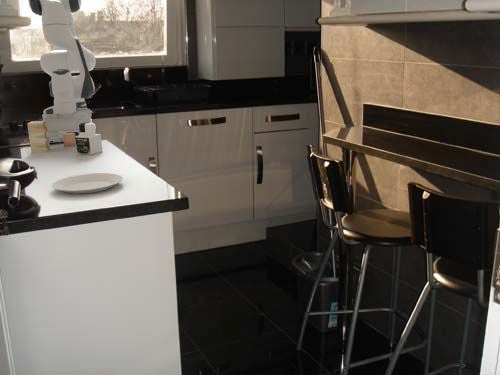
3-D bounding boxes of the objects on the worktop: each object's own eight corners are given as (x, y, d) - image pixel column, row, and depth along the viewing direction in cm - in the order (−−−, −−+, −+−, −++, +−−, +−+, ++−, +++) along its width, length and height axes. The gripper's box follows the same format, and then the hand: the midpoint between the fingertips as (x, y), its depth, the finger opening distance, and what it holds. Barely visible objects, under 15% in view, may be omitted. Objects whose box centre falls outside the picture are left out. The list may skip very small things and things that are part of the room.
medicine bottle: (76, 154, 232) (73, 124, 229) (89, 150, 238) (86, 121, 235) (90, 155, 229) (87, 124, 226) (103, 151, 235) (99, 121, 232)
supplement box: (68, 139, 268) (64, 111, 265) (61, 142, 261) (57, 113, 258) (52, 139, 269) (48, 112, 266) (45, 142, 262) (41, 114, 259)
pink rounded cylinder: (65, 144, 254) (64, 133, 253) (77, 144, 255) (76, 132, 253) (63, 146, 250) (61, 135, 248) (75, 146, 250) (73, 134, 249)
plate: (67, 202, 165) (66, 194, 165) (43, 188, 182) (42, 181, 181) (134, 188, 177) (134, 181, 176) (107, 176, 193) (106, 169, 193)
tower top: (32, 131, 243) (31, 121, 242) (47, 130, 244) (46, 120, 243) (28, 133, 238) (27, 123, 237) (43, 132, 238) (42, 122, 237)
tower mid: (34, 140, 245) (32, 131, 243) (48, 139, 245) (47, 130, 244) (30, 143, 239) (28, 133, 238) (45, 142, 239) (43, 132, 238)
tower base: (35, 150, 246) (34, 140, 245) (50, 149, 246) (48, 139, 245) (31, 152, 240) (30, 143, 239) (46, 152, 240) (45, 142, 239)
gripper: (92, 106, 252) (95, 138, 255) (43, 109, 251) (47, 141, 254) (89, 108, 246) (93, 140, 249) (39, 111, 244) (43, 143, 248)
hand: (69, 141), depth 252 cm, fingers open, 6 cm apart
